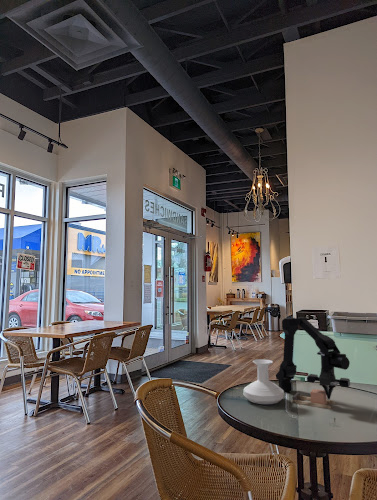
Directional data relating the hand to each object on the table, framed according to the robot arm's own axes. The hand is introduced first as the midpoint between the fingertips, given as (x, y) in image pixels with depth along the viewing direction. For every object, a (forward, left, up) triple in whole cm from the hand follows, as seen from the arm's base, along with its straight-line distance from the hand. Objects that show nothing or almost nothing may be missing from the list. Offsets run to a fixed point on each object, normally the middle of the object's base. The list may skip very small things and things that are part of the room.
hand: (329, 398), depth 173 cm
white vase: (-30, -8, -4) cm, 31 cm away
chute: (-8, 0, -3) cm, 8 cm away
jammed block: (-5, 0, -3) cm, 6 cm away
